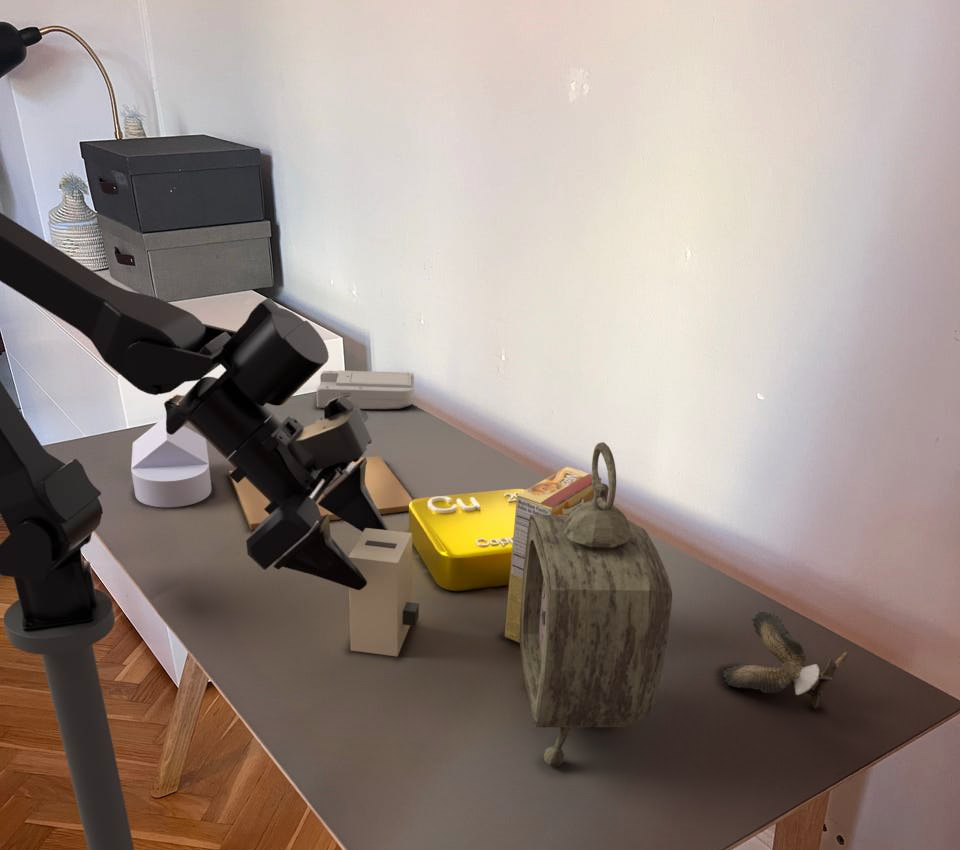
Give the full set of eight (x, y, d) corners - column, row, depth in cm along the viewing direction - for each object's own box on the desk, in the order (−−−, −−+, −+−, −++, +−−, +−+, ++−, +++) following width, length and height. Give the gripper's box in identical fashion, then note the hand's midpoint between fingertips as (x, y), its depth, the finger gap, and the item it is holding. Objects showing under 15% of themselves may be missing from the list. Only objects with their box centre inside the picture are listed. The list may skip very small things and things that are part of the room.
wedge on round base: (136, 467, 122) (134, 509, 111) (128, 417, 118) (125, 456, 108) (208, 463, 124) (213, 504, 114) (203, 413, 121) (207, 451, 110)
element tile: (441, 595, 98) (443, 554, 96) (404, 531, 110) (404, 494, 107) (573, 578, 103) (578, 538, 100) (524, 519, 114) (527, 482, 112)
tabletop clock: (514, 675, 86) (536, 412, 73) (611, 675, 87) (651, 415, 74) (533, 781, 74) (564, 489, 61) (646, 779, 75) (700, 491, 62)
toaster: (350, 650, 89) (348, 556, 83) (366, 618, 94) (365, 526, 88) (410, 658, 88) (411, 563, 83) (423, 625, 93) (424, 533, 88)
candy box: (550, 602, 98) (564, 464, 90) (585, 616, 96) (603, 476, 88) (502, 638, 92) (513, 493, 84) (539, 653, 90) (554, 507, 82)
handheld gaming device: (413, 369, 150) (413, 393, 152) (320, 367, 149) (321, 390, 151) (413, 386, 143) (413, 411, 144) (315, 384, 141) (316, 408, 143)
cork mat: (250, 530, 108) (250, 524, 108) (229, 476, 121) (228, 470, 120) (416, 510, 115) (416, 504, 115) (379, 461, 128) (379, 455, 127)
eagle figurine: (839, 669, 88) (751, 623, 91) (857, 639, 81) (762, 590, 84) (800, 735, 86) (712, 686, 89) (815, 709, 79) (719, 657, 82)
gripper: (273, 415, 70) (416, 561, 75) (341, 347, 86) (456, 472, 91) (185, 501, 75) (325, 633, 80) (265, 422, 91) (378, 536, 96)
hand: (376, 562), depth 87 cm, fingers open, 9 cm apart
